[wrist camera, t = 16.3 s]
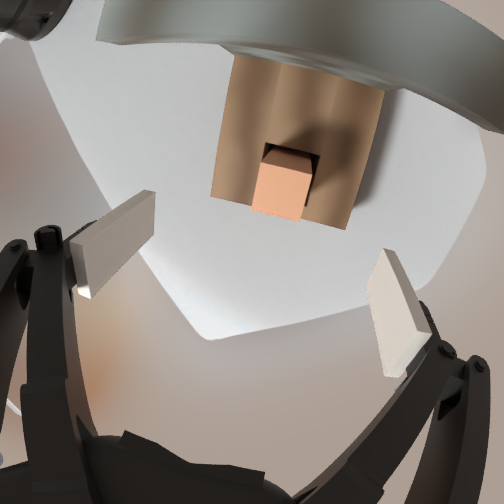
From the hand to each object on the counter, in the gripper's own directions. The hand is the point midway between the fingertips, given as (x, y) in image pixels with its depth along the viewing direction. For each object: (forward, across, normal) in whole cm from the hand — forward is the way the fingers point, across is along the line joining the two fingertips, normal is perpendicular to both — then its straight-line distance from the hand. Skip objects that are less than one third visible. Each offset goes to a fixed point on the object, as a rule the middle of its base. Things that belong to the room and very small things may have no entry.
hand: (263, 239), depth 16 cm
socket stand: (+22, 0, +4) cm, 22 cm away
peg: (+22, 0, 0) cm, 22 cm away
